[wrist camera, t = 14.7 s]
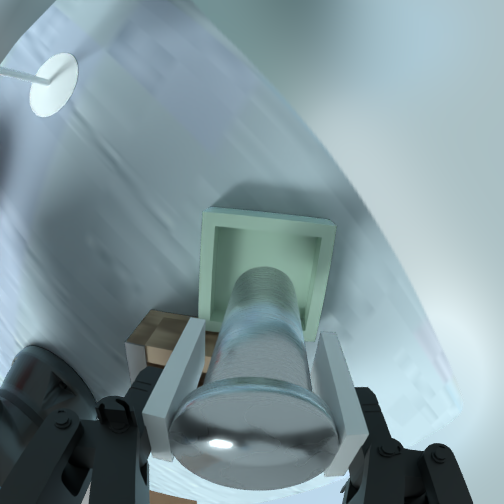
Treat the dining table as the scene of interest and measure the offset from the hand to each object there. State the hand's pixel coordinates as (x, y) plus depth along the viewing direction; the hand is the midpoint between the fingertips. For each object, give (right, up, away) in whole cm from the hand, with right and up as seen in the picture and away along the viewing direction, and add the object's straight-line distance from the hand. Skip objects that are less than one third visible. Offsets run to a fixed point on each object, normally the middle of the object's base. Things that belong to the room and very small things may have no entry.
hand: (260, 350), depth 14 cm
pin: (0, +2, +6) cm, 7 cm away
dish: (+1, +3, +12) cm, 12 cm away
